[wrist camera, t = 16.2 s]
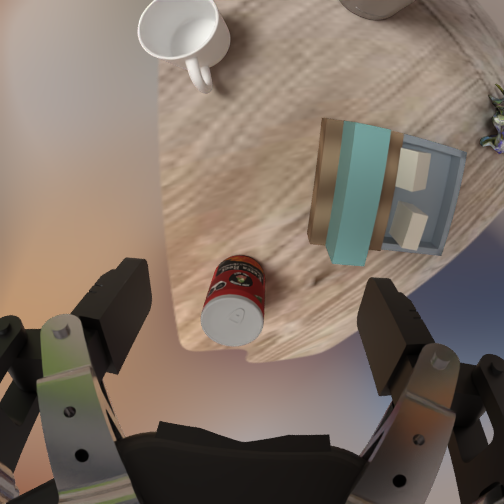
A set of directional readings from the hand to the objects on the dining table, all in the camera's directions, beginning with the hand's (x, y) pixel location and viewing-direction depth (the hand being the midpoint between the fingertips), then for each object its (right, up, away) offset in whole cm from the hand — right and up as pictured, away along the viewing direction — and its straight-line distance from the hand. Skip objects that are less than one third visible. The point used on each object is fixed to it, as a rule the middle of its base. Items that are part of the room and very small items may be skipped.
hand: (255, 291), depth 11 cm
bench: (+13, +11, +27) cm, 32 cm away
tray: (+24, +10, +27) cm, 37 cm away
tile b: (+20, +5, +26) cm, 33 cm away
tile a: (+20, +12, +24) cm, 33 cm away
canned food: (-2, -2, +35) cm, 35 cm away
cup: (-6, +26, +21) cm, 34 cm away
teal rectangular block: (+12, +9, +24) cm, 28 cm away
